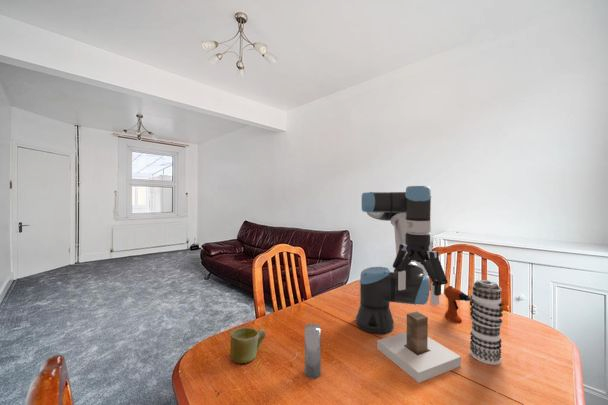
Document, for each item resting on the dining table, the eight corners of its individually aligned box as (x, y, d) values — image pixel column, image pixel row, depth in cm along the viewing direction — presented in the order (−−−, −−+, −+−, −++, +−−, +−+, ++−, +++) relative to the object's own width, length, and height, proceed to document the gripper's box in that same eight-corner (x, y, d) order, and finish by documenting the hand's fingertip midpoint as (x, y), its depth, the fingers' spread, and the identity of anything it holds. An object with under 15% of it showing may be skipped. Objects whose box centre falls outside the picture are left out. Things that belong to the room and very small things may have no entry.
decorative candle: (485, 346, 91) (486, 276, 90) (510, 363, 82) (511, 286, 81) (462, 349, 90) (463, 278, 89) (485, 367, 81) (486, 288, 80)
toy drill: (474, 333, 97) (470, 294, 99) (442, 317, 115) (440, 284, 116) (485, 332, 98) (481, 293, 99) (452, 316, 116) (449, 283, 117)
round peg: (302, 370, 80) (302, 325, 79) (316, 366, 81) (316, 322, 81) (308, 380, 75) (308, 333, 75) (323, 376, 77) (323, 329, 77)
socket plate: (377, 348, 90) (377, 340, 90) (415, 337, 98) (415, 329, 98) (418, 382, 74) (418, 372, 74) (460, 366, 81) (461, 356, 81)
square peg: (406, 354, 87) (406, 313, 87) (416, 351, 89) (416, 311, 88) (417, 362, 83) (417, 319, 82) (427, 359, 85) (427, 317, 84)
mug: (230, 367, 78) (234, 331, 82) (224, 359, 87) (228, 326, 90) (268, 364, 83) (271, 330, 87) (259, 357, 92) (262, 326, 95)
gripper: (382, 228, 95) (382, 285, 95) (443, 240, 72) (442, 315, 73) (398, 227, 98) (398, 282, 98) (461, 238, 75) (460, 310, 75)
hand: (417, 296), depth 85 cm, fingers open, 13 cm apart
